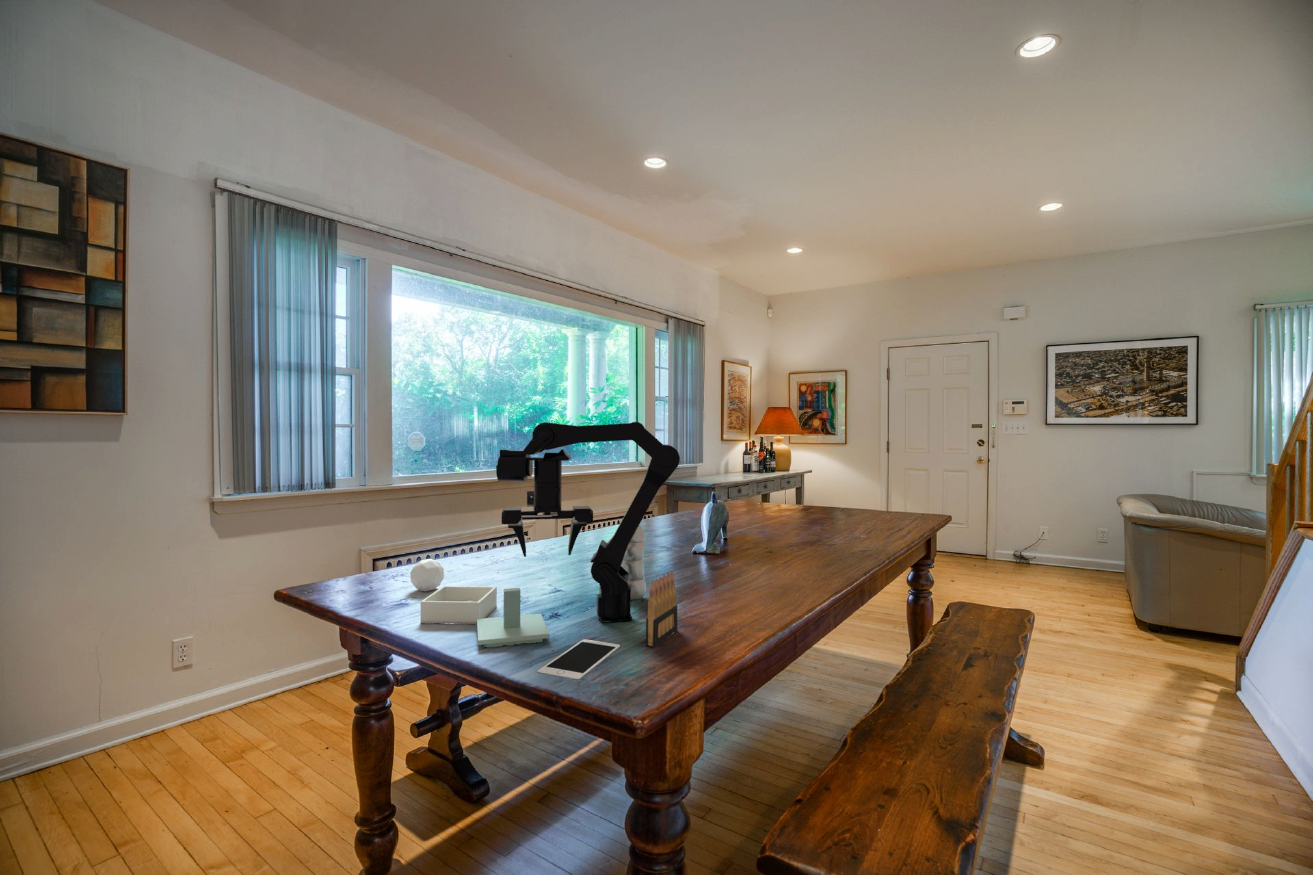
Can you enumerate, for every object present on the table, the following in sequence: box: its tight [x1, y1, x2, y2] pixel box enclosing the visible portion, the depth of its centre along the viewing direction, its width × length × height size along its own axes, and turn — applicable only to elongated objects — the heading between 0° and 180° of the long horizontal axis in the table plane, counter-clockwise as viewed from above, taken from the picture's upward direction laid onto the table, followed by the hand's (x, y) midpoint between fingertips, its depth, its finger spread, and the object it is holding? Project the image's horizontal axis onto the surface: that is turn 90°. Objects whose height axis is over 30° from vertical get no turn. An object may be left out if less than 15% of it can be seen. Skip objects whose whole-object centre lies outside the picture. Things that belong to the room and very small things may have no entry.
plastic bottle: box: [621, 512, 647, 601], centre depth 138 cm, size 6×7×20 cm
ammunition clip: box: [645, 570, 678, 648], centre depth 112 cm, size 11×2×12 cm, turn 155°
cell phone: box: [537, 638, 621, 681], centre depth 102 cm, size 8×16×1 cm, turn 159°
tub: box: [420, 585, 498, 626], centre depth 125 cm, size 12×12×4 cm
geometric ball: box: [409, 558, 445, 592], centre depth 144 cm, size 8×8×8 cm
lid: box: [476, 587, 550, 648], centre depth 113 cm, size 13×13×9 cm
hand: (547, 555), depth 124 cm, fingers open, 9 cm apart
